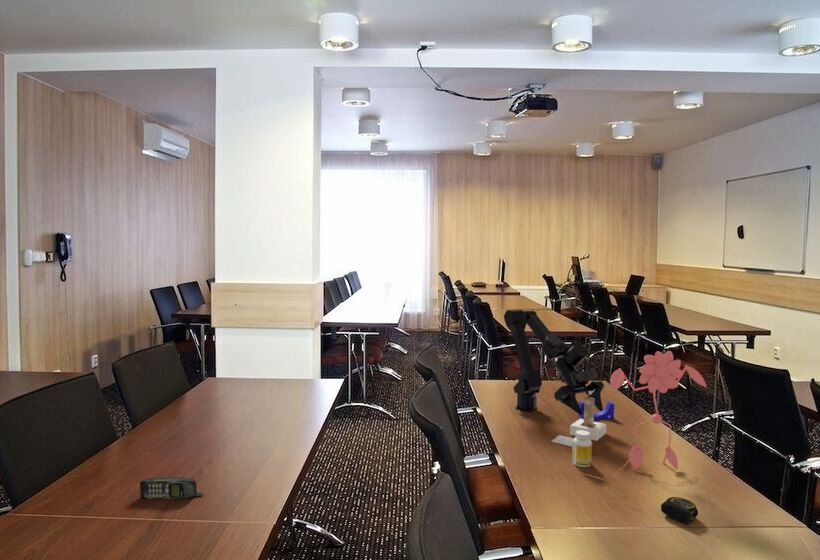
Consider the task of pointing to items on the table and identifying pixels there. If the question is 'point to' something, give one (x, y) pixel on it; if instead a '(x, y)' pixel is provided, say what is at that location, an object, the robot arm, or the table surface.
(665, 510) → the tape measure
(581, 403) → the cable clip
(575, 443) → the supplement bottle
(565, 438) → the mat
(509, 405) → the table surface
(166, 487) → the mobile phone
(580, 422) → the block
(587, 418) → the peg
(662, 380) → the figurine
